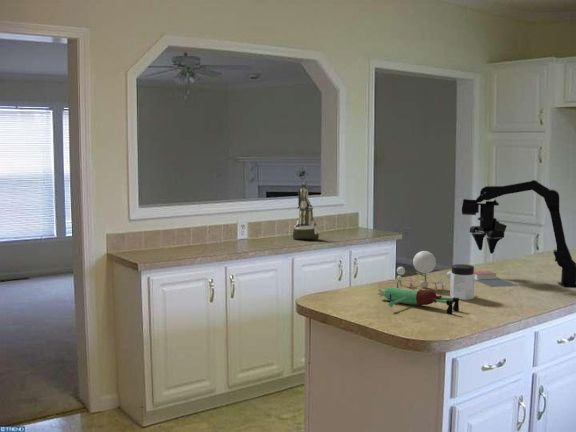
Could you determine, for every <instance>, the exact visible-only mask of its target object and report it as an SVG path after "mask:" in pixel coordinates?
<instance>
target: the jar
mask: <svg viewBox="0 0 576 432" xmlns="http://www.w3.org/2000/svg"><path fill="white" fill-rule="evenodd" d="M451 271H452V272H451V279H449V280H450V287H449V291H450V292H449V296H450V298H454V297H455V298H459V301H460V300H461V301H467V300H473V299H474V298H475V281H476V280H475V274H474V272H475V266H474V265H471V264H464V263H463V264H462V263H459V264H452V265H451Z"/></svg>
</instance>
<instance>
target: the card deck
mask: <svg viewBox="0 0 576 432" xmlns="http://www.w3.org/2000/svg"><path fill="white" fill-rule="evenodd" d="M474 274H475V279H490V278H496V277H497V273H495V272H493V271H490V270H483V271H482V270H481V271H480V270H478V271H477V270H476V271H474Z"/></svg>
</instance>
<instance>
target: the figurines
mask: <svg viewBox="0 0 576 432" xmlns="http://www.w3.org/2000/svg"><path fill="white" fill-rule="evenodd" d="M412 261H413V262H412V263H413V267H414V269H415V270H416V274H418V275H419V276H421V277H424V280H421V281H420V282H419V286H420V288H424V289H427V288H428V287H429V281H427V274H429V273H431V272H432V271H433V270H434V269H435V268H436V265H437V264H436V263H437V259H436V257H435V255H434V254H433V253H431V252H430V251H428V250H422V251H421V250H420V251H418V252H417V253H416V254H415V255H414V257H413V260H412ZM451 272H452V270H449V271H447V273H446V278H448V280H451ZM396 273H397V274H398V275H397V276H395V279H396V280H397V282H396V288H398V289H400V288H399V285H402V275H404V274H405V273H406V270H405V268H404V267H403V266H398V267H397V269H396ZM408 279H410V281H409V286H411V290H415V289H414V284H415V282H413V281H412V280H413V279H415V277H414V276H413V277H411V278H410V277H409V278H408ZM431 283H432V284H433V285H434V292H437V291H438V286H437V285H439V284H440V285H441V287H442V288H441V294H442V293H444V291H445V288H444V283H445V280H444V279H442V278H440V279H439V280H438V282H432V281H431Z"/></svg>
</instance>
